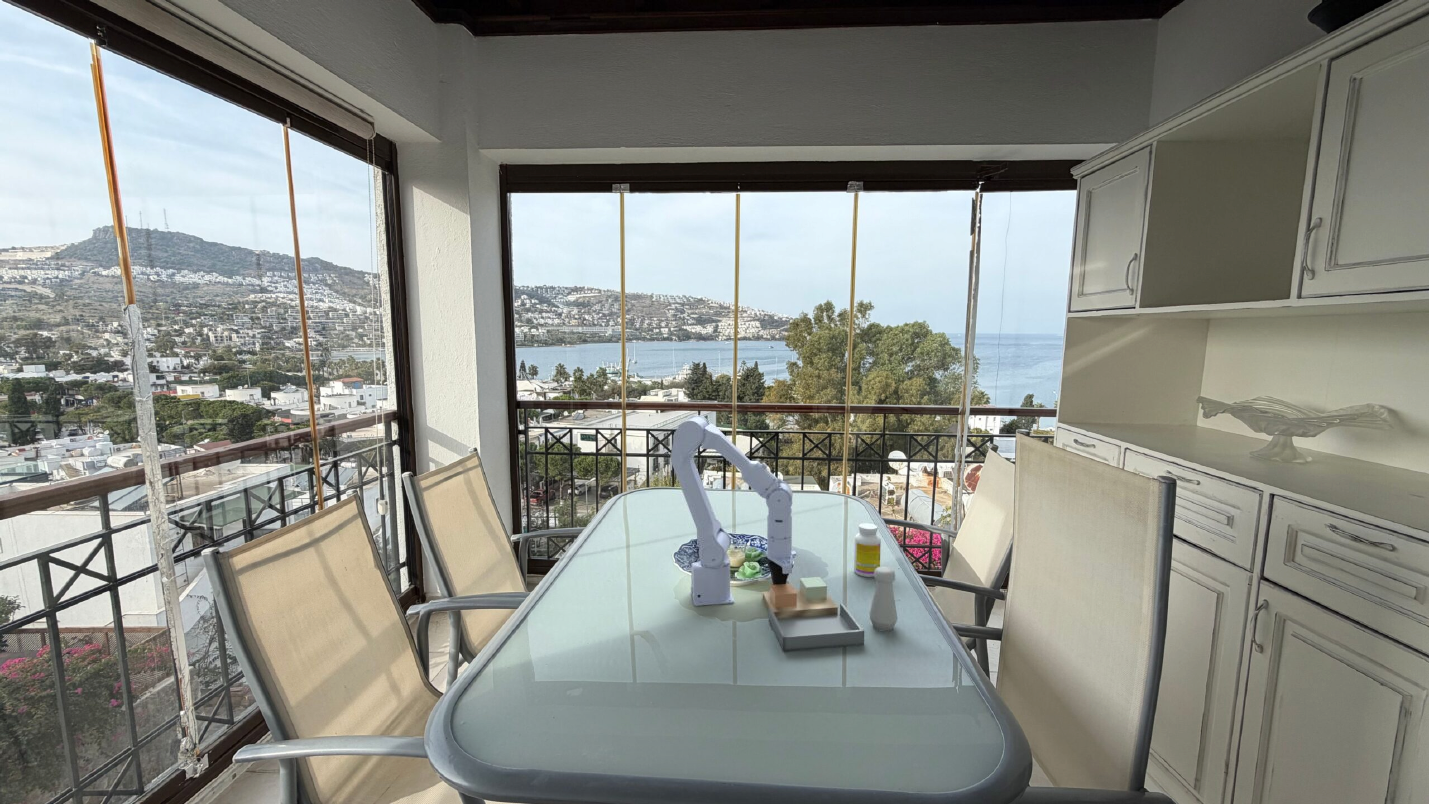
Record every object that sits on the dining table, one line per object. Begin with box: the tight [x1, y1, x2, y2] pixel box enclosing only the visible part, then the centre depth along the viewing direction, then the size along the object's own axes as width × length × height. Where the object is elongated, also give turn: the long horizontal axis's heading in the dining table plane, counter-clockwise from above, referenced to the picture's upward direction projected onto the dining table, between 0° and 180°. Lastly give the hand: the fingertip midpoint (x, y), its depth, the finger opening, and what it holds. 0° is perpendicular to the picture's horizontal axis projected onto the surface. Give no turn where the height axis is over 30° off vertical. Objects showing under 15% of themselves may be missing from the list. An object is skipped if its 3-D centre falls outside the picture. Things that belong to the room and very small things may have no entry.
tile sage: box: [799, 576, 828, 600], centre depth 131 cm, size 5×5×3 cm
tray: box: [768, 602, 865, 653], centre depth 118 cm, size 17×12×3 cm
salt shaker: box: [869, 566, 898, 632], centre depth 120 cm, size 6×6×13 cm
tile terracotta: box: [769, 583, 797, 608], centre depth 128 cm, size 5×5×3 cm
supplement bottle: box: [853, 523, 882, 578], centre depth 147 cm, size 7×7×13 cm
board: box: [762, 588, 839, 619], centre depth 129 cm, size 15×10×2 cm, turn 98°
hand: (778, 590), depth 131 cm, fingers closed
